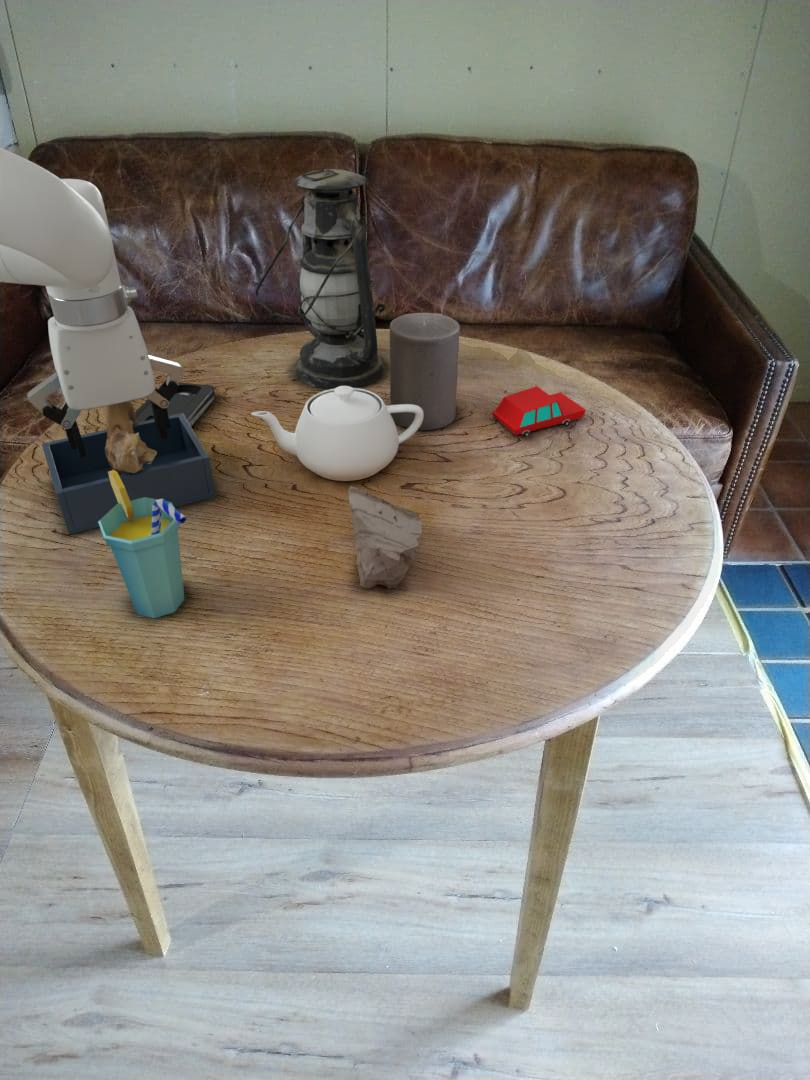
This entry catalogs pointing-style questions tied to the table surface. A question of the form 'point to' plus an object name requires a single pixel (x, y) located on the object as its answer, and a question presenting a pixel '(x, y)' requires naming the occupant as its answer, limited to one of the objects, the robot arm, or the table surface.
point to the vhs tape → (182, 403)
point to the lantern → (334, 284)
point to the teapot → (344, 433)
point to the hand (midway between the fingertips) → (122, 442)
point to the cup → (146, 549)
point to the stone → (382, 538)
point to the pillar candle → (424, 368)
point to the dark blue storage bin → (128, 473)
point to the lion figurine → (125, 440)
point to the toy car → (536, 410)
